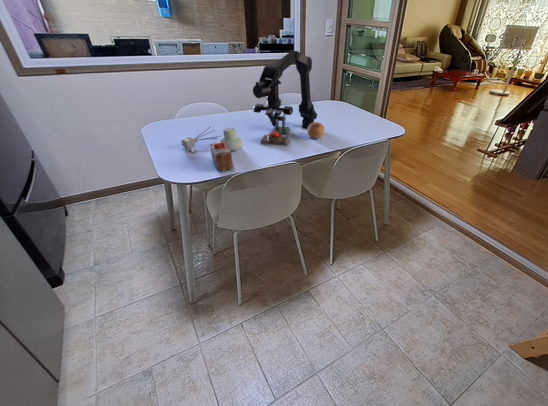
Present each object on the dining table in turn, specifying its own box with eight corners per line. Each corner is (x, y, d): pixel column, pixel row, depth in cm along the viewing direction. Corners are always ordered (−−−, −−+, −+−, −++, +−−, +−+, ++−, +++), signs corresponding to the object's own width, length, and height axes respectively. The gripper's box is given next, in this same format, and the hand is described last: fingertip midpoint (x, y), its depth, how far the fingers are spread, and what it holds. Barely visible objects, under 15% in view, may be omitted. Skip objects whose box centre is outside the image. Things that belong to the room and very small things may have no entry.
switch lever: (281, 120, 152) (281, 115, 151) (270, 119, 152) (270, 114, 151) (285, 121, 163) (286, 116, 163) (275, 120, 163) (275, 116, 163)
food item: (210, 160, 130) (206, 139, 125) (228, 157, 134) (225, 136, 128) (218, 172, 120) (214, 150, 115) (236, 169, 124) (234, 147, 119)
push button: (279, 134, 151) (279, 131, 150) (278, 137, 148) (277, 134, 147) (271, 134, 152) (271, 130, 151) (269, 137, 148) (269, 133, 147)
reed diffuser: (176, 135, 135) (211, 121, 148) (177, 146, 140) (211, 132, 153) (191, 148, 133) (225, 133, 146) (191, 159, 138) (224, 143, 152)
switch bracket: (285, 135, 162) (285, 118, 156) (271, 133, 162) (271, 117, 157) (289, 129, 170) (288, 113, 165) (275, 128, 170) (275, 112, 165)
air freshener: (244, 151, 140) (241, 131, 134) (227, 154, 136) (224, 134, 130) (236, 143, 147) (234, 124, 141) (220, 146, 143) (217, 127, 137)
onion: (318, 145, 159) (320, 132, 151) (303, 138, 160) (305, 125, 152) (325, 134, 164) (328, 122, 156) (311, 128, 165) (313, 114, 156)
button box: (288, 140, 155) (288, 133, 153) (285, 146, 148) (285, 138, 146) (264, 138, 155) (264, 131, 153) (261, 144, 148) (260, 136, 146)
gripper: (294, 92, 145) (294, 122, 153) (258, 89, 145) (260, 120, 154) (290, 97, 135) (291, 129, 144) (251, 94, 136) (254, 126, 144)
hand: (274, 126), depth 147 cm, fingers closed
